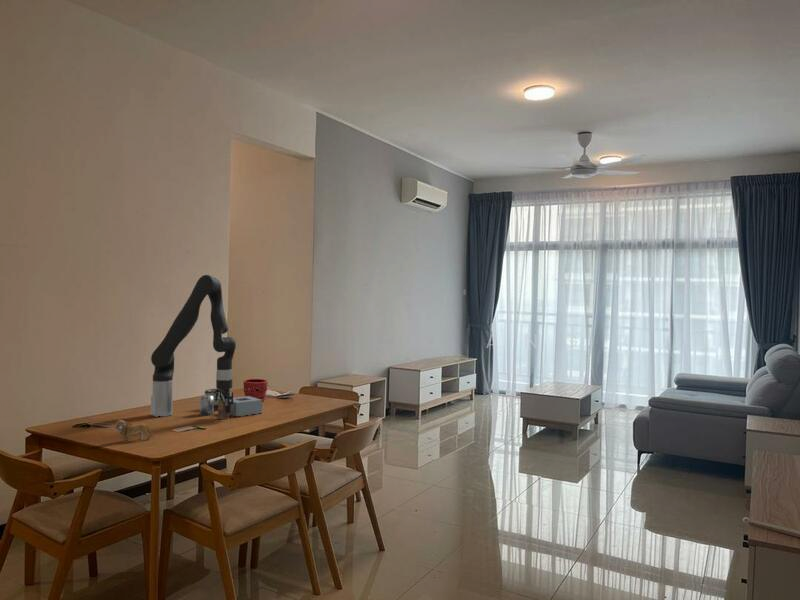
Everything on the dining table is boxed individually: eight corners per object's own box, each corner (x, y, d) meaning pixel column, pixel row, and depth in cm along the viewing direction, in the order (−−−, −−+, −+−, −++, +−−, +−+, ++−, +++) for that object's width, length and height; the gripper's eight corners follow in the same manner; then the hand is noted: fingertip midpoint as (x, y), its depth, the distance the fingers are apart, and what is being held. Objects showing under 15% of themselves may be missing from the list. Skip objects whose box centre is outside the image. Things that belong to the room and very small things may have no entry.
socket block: (236, 417, 295) (236, 402, 295) (223, 412, 305) (223, 398, 305) (261, 413, 304) (262, 399, 304) (248, 409, 314) (248, 396, 314)
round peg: (203, 416, 297) (203, 397, 296) (197, 413, 301) (197, 396, 301) (215, 414, 301) (216, 396, 301) (210, 412, 306) (210, 394, 306)
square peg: (221, 419, 289) (221, 400, 288) (218, 418, 292) (218, 399, 291) (229, 418, 291) (229, 400, 291) (225, 417, 294) (226, 398, 294)
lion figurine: (116, 444, 240) (116, 422, 240) (113, 441, 244) (113, 419, 244) (155, 439, 249) (155, 417, 249) (151, 436, 253) (151, 415, 253)
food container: (231, 407, 319) (231, 388, 319) (226, 409, 313) (227, 390, 313) (209, 406, 320) (209, 388, 320) (204, 409, 314) (204, 389, 314)
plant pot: (240, 403, 331) (241, 381, 331) (246, 399, 344) (246, 378, 344) (264, 403, 332) (265, 382, 331) (269, 399, 345) (269, 378, 345)
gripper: (210, 377, 294) (210, 410, 294) (223, 380, 283) (223, 415, 284) (225, 376, 299) (224, 408, 299) (238, 379, 288) (238, 413, 289)
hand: (224, 411), depth 291 cm, fingers open, 8 cm apart
